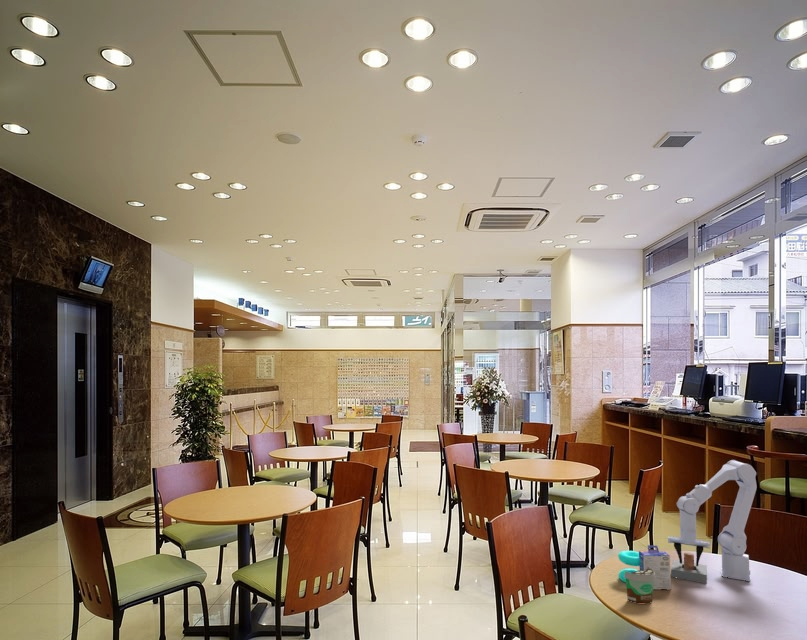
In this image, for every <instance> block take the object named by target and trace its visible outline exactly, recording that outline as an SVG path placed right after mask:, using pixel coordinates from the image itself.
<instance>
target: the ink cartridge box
mask: <svg viewBox="0 0 807 640" xmlns="http://www.w3.org/2000/svg"><path fill="white" fill-rule="evenodd" d="M651 548H654V549H651ZM638 552H639V557H640V561H641V564H640V566H639V570H646V569H647V567H650V568H652V569H653V570H654V572H655V576H656V579H655V580H654V582H653V590H661V589H667V590H668V591H671V590H672V584H671V583H672V581H671V580H672V579H671V578H672V576H671V556H670V555H669V554H668V553H667V552H666V551H659V547H658V545H653V544H652V545H650V544H647V551H646V550H645V551H642V550H641V551H638Z"/></svg>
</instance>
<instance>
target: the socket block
mask: <svg viewBox="0 0 807 640" xmlns="http://www.w3.org/2000/svg"><path fill="white" fill-rule="evenodd" d="M707 568H708V567H707V565H706V564H700V563H698V566H696V562H694V570H690V569H684V561H682V564H681V563H680V560H675V559H673V560H672V563H671V568H670V574H671V578H673V577H677V578H676V579H679V578H682V579H681V580H685V579H686V581H691V582H696V581H697V582H696V583H702V582H704V583H703V584H707V583H708V582H707V581H708V570H707Z"/></svg>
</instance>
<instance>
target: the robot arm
mask: <svg viewBox="0 0 807 640" xmlns="http://www.w3.org/2000/svg"><path fill="white" fill-rule="evenodd" d="M756 476H757V472H756V470H755V468H754V467H753V466H752V465H751V464H749V463H744V462H741V461H738V460H736V459H731V460H729V461H727V462H726V463H725V464H723V465H722V467H721V469H720V470H719V471H717V473H715V475H714V476H712V477H711V478H710V479H709V480H708V481H707V482H706V483H705V484H701V483H700V484H699V485H698V484H696V485H695V486H694V488H693V489H692V490H691V491H690V492H687V493H686V494H685V495H684V496H683V495H682V496H680V497H679V498H678V500H677V502H676V503H675V504H676V506H677V508H678V510H679V534H680V535H679V536H680V537H679V536H678V537H677V536H667V543H668V544H672V543H673V547H674V550H675V551H676V553H677V556H678V559H679V560H678V561H680V563H681V564H682V562H683V557H682V556H683V555H682V545H685V546H692V547H693V546H694V547H695V549H696V550H695V551H696V559H695V560H696V561H695V564H696V566H698V564H700V563H699V562H700V559H701V556H702V553H703V552H704V548H706V549H710V548H711V547H710V542H709V541H704V540H699V539H697V537H698V536H697V517H696V516H697V513H698V512H699V509H700V507H701V505H703V504H704V503H705V502H706V501H708V499H710V498H711V497H712V496H713V495H712V494H713V491H715V490H716V489H717V488H719V487H721V486H722V485H723V484H724V483H726V482H727V481H735V482H736V483H737V485H738V486H739V489H738V491H737V495H736V498H735V502H734V505H733V507H732V508H733V509H732V511H731V514H730V518H729V522H728V524H727V525H725V526H724V527H723V528H722V531H721V532H720V533H719V535H718V536H717V543H718V544H719V546H720V547H721V548H720V549H721V569H720V576H721V577H722V576H723V577H722V578H727V577H728V579H734V580H741V581H745V580H746V581H747V582H751V577H750V576H751V569H750V557H749V556H750V555H749V554H746V553H745V552H746V550H747V535H746V533H745V528H746V525H747V521H748V518H749V514H750V513H751V510H752V509H751V507H752V505H753V501H754V498H755V495H756V492H757V490H758V489H757V480H756Z"/></svg>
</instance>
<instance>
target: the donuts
mask: <svg viewBox="0 0 807 640" xmlns="http://www.w3.org/2000/svg"><path fill="white" fill-rule="evenodd" d="M617 557H618V560H619V561H620V562H621V563H622V564H625V565H626V566H630V567H640V564H641V561H640V557H639V551H636V550H622V551H619V553H618V555H617ZM637 570H638V569H635V568H624V569H621V570H620V571H619V572H618V578H619V580H621V582H624V583H625V582H626V578H624V576H625V571H626V572H629V573H632V572H635V571H637Z"/></svg>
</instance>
